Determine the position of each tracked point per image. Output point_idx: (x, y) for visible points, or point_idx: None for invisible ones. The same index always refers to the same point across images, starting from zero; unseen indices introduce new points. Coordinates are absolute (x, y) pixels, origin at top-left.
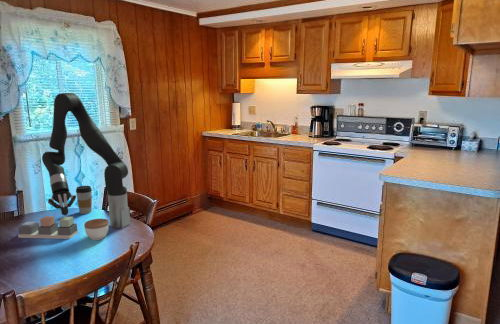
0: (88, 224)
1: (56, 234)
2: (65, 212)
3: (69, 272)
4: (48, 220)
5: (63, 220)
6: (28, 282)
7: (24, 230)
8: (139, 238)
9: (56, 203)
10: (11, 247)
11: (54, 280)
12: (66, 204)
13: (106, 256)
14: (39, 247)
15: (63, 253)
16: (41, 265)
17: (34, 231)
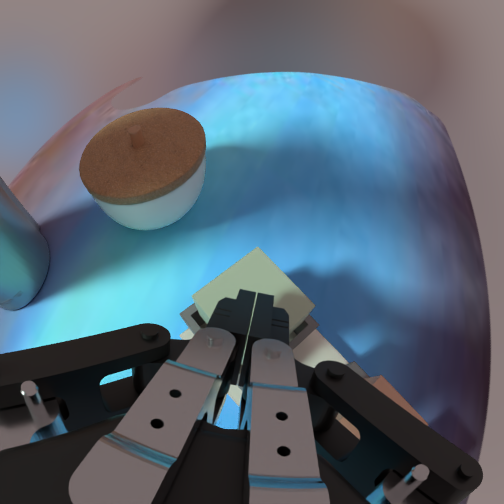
0: (187, 138)
1: (311, 350)
2: (254, 295)
3: (333, 86)
4: (380, 377)
5: (287, 278)
6: (409, 110)
7: None
8: (92, 121)
9: (353, 405)
10: (475, 358)
11: (364, 85)
12: (201, 343)
13: (230, 86)
14: (398, 279)
15: (327, 163)
16: (391, 145)
17: None
